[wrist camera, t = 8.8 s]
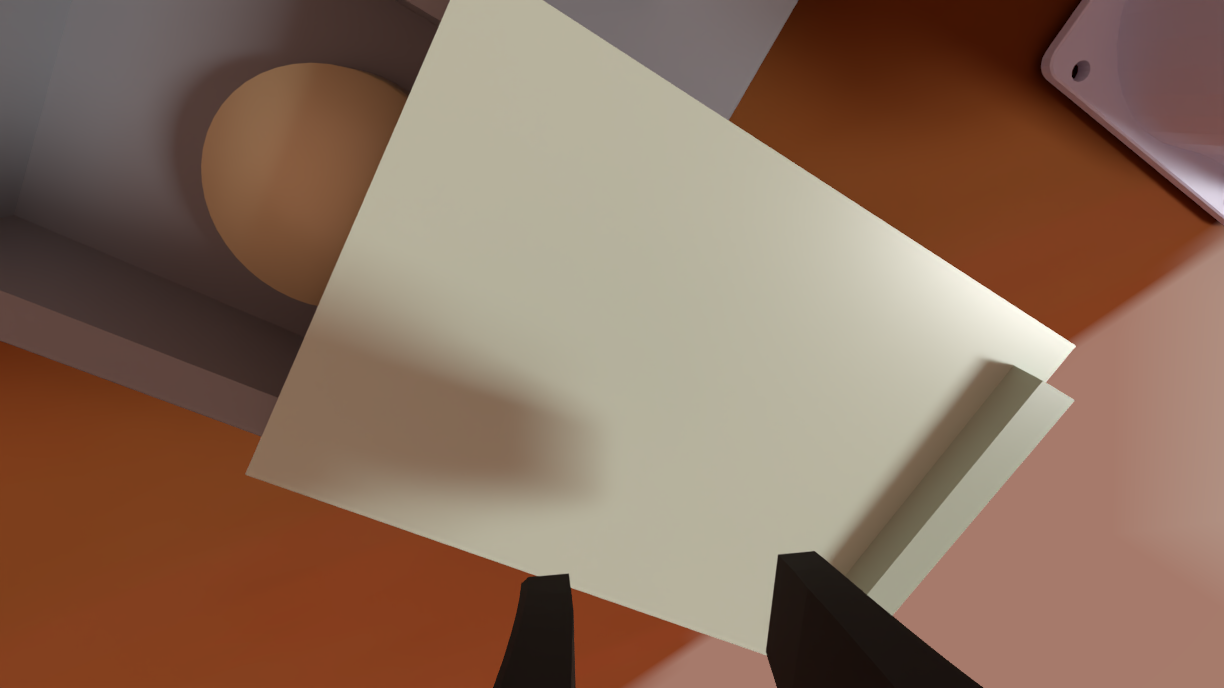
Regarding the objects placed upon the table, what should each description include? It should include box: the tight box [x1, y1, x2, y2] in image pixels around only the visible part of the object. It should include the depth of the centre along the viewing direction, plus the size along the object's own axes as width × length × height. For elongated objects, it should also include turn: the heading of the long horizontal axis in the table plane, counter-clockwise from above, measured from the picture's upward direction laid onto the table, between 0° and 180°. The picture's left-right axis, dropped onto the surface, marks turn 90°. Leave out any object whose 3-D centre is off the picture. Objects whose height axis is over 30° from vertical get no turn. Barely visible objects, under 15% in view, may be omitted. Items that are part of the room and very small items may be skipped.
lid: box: [245, 0, 1075, 655], centre depth 12 cm, size 14×10×2 cm
